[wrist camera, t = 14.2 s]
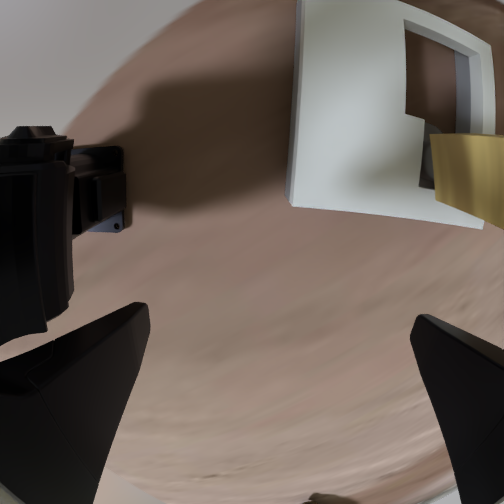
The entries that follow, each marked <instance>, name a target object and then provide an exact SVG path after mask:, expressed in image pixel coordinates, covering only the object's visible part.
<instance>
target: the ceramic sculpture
mask: <svg viewBox="0 0 504 504" xmlns="http://www.w3.org/2000/svg"><path fill="white" fill-rule="evenodd" d="M303 504H318V503H316V502H312V501H308V502H304V503H303Z"/></svg>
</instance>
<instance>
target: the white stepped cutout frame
mask: <svg viewBox="0 0 504 504" xmlns="http://www.w3.org/2000/svg"><path fill="white" fill-rule="evenodd" d="M404 29H406V30H409V31H411V32H414V33H417V34H419V35H422V36H424V37H427V38H429V39H431V40H434V41H436V42H438V43H441V44H443V45H445V46H447V47H449V48H452V49H454V53H455V67H456V132H455V133H477V134H493V135H495V83H494V69H493V59H492V51H491V45H489V44H487V43H486V42H484V41H483V40H481V39H479V38H478V37H476V36H474V35H472V34H471V33H469V32H467V31H465V30H463V29H461V28H459V27H458V26H456V25H454V24H452V23H450V22H448V21H446V20H443V19H441V18H439V17H437V16H435V15H433V14H430V13H428V12H426V11H423V10H421V9H419V8H416V7H414V6H411V5H409V4H406V3H403V2H401V1H398V0H298V1H297V9H296V34H295V55H294V73H293V90H292V106H291V121H290V135H289V148H288V161H287V173H286V185H285V196H286V198H287V199H288V201H289V202H290V204H291V205H292V206H294V207H306V208H318V209H328V210H339V211H349V212H358V213H367V214H376V215H385V216H393V217H401V218H409V219H416V220H424V221H431V222H438V223H445V224H451V225H458V226H464V227H470V228H476V229H482V230H483V225H484V220H482V219H479V218H477V217H475V216H473V215H470V214H468V213H466V212H463V211H461V210H458V209H456V208H453V207H451V206H449V205H446V204H443V203H441V202H438V201H436V200H435V189H433V188H428V187H423V186H419V178H420V170H421V161H422V151H423V139H424V123H425V120H424V119H421V118H418V117H414V116H411V115H407V114H405V105H406V52H405V33H404Z"/></svg>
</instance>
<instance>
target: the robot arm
mask: <svg viewBox="0 0 504 504" xmlns="http://www.w3.org/2000/svg"><path fill="white" fill-rule="evenodd" d="M73 144H74V139H67V136H62V135H56V134H55V132H54V130H53V128H52V127H51V126H19V127H16V128H15V130H14V131H12V133H11V134H10V135H9V136H5V137H2V138H0V346H1V345H3V344H5V343H6V342H9V341H11V340H13V339H15V338H18V337H22V336H25V335H28V334H36V333H44V332H47V330H48V328H47V322H48V321H50V320H52V319H54V318H56V317H58V316H59V315H60V314H62V313H63V312H64V311H65V310H66V309H67V308H68V307H69V304H68V301H69V300H70V298H71V296H72V294H73V292H74V281H73V261H72V240H73V239H74V238H76V237H78V236H79V235H81V234H83V233H84V232H86V231H90V232H113V233H118V232H121V231H122V230H123V229H124V226H125V223H124V209H125V207H126V174H125V173H124V172H123V149H122V147H120V146H108V147H95V148H83V149H73ZM71 149H73V150H71ZM115 150H118V155H117V156H116V155H115V153H114V152H115ZM116 223H118V224H119V225H120V228H117V227H116ZM149 334H150V318H149V310H148V305H147V304H146V303H142V302H133V303H131V304H129V305H127V306H125V307H123V308H120V309H118V310H116V311H114V312H112V313H110V314H108V315H106V316H103V317H101V318H99V319H97V320H95V321H93V322H91V323H88V324H86V325H84V326H82V327H80V328H78V329H76V330H74V331H72V332H69V333H67V334H65V335H63V336H61V337H59V338H57V339H55V341H54V340H52V341H50V342H48V343H46V344H44V345H42V346H39V347H37V348H35V349H33V350H30V351H28V352H25V353H23V354H20V355H18V356H15V357H13V358H10V359H7V360H5V361H2V362H0V504H93V501H94V498H95V494H96V492H97V488H98V485H99V484H98V483H99V481H100V478H101V475H102V472H103V469H104V466H105V463H106V460H107V457H108V454H109V451H110V448H111V445H112V442H113V440H114V437H115V434H116V431H117V428H118V426H119V423H120V420H121V417H122V415H123V412H124V409H125V407H126V404H127V401H128V399H129V396H130V394H131V391H132V388H133V386H134V383H135V381H136V378H137V376H138V373H139V370H140V367H141V363H142V360H143V356H144V352H145V348H146V345H147V341H148V337H149ZM410 342H411V345H412V348H413V351H414V354H415V358H416V361H417V364H418V368H419V371H420V374H421V377H422V380H423V382H424V385H425V387H426V390H427V392H428V395H429V398H430V400H431V403H432V406H433V408H434V411H435V414H436V417H437V420H438V422H439V425H440V428H441V431H442V434H443V437H444V440H445V444H446V447H447V450H448V453H449V457H450V460H451V463H452V467H453V471H454V472H455V473H454V475H455V479H456V483H457V487H458V491H459V495H460V499H461V503H462V504H500V503H501V502H503V501H504V349H503V350H502V348H500V347H498V346H495V345H493V344H491V343H489V342H487V341H485V340H483V339H481V338H479V337H477V336H474V335H472V334H470V333H468V332H466V331H464V330H462V329H460V328H457V327H455V326H453V325H451V324H449V323H447V322H444V321H442V320H440V319H438V318H436V317H434V316H432V315H429V314H420V315H418V316H417V317H416V320H415V323H414V325H413V328H412V331H411V334H410Z"/></svg>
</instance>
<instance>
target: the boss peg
mask: <svg viewBox="0 0 504 504" xmlns="http://www.w3.org/2000/svg"><path fill="white" fill-rule="evenodd" d="M419 186H423V187H428V188H433V189H435V200H436V201H438V202H441V203H443V204H446V205H449V206H451V207H453V208H456V209H458V210H461V211H463V212H466V213H468V214H470V215H473V216H475V217H477V218H479V219H482V220H484V221H486V222H488V223H491V224H493V225H495V226H497V227H499V228H501V229H503V230H504V135H493V134H477V133H452V134H443V133H442V132H441V131H440V130H439V129H438V128H437V127H435V126H433V125H431V124H429V123H424V139H423V151H422V161H421V170H420V178H419Z"/></svg>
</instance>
